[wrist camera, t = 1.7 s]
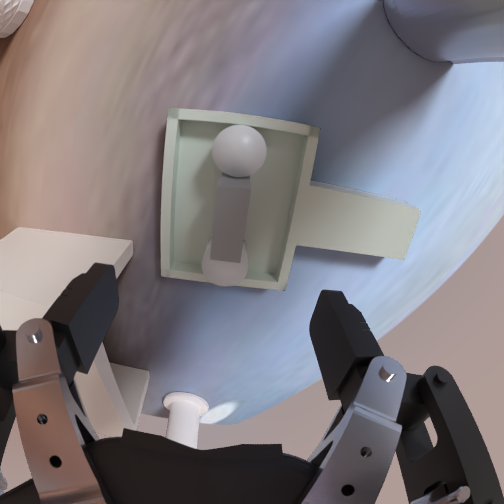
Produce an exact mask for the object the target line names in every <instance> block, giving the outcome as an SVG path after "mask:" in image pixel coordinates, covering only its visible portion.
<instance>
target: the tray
mask: <svg viewBox="0 0 504 504" xmlns="http://www.w3.org/2000/svg"><path fill="white" fill-rule="evenodd" d="M320 129H321V128H319V127H315V126H310V125H305V124H301V123H296V122H290V121H285V120H279V119H274V118H267V117H261V116H254V115H247V114H239V113H230V112H220V111H209V110H195V109H174V108H169V111H168V119H167V128H166V138H165V149H164V162H163V177H162V197H161V276H162V277H169V278H177V279H184V280H192V281H200V282H208V283H213V284H215V285H218V286H225V287H226V286H233V285H234V286H243V287H252V288H262V289H272V290H282V291H285V289H286V285H287V281H288V277H289V273H290V269H291V265H292V261H293V257H294V252H295V248H296V245H298V246H306V247H314V248H322V249H329V250H337V251H344V252H352V253H359V254H366V255H373V256H381V257H388V258H395V259H402V260H404V259H405V256H406V254H407V251H408V249H409V246H410V243H411V240H412V237H413V235H414V232H415V229H416V226H417V223H418V220H419V217H420V213H421V210H419V209H417V208H416V207H414V206H413V205H411V204H409V203H408V202H404V201H401V200H397V199H393V198H389V197H385V196H381V195H377V194H373V193H369V192H364V191H360V190H356V189H351V188H347V187H342V186H337V185H332V184H327V183H322V182H317V181H312V180H311V175H312V171H313V166H314V160H315V155H316V150H317V145H318V140H319V134H320Z"/></svg>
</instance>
